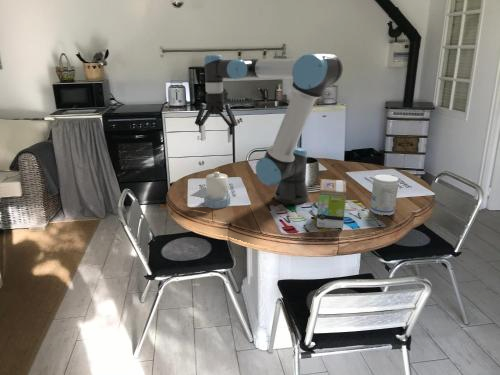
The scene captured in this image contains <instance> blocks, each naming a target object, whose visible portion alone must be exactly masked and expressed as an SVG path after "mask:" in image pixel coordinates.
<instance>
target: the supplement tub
mask: <svg viewBox="0 0 500 375" xmlns="http://www.w3.org/2000/svg"><path fill="white" fill-rule="evenodd" d="M398 189H399V177H396V176H394V175H391V174H377V175H374V177H373V182H372V189H371V190H372V192H371V198H370V208H369V209H370V211H371V212H372V213H373V214H376V215H377V214H378V216H383V215H388V216H391V215H393V214H394V213H395V210H396V204H397V203H396V202H397V197H398V196H397V195H398Z"/></svg>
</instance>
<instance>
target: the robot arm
mask: <svg viewBox="0 0 500 375" xmlns="http://www.w3.org/2000/svg"><path fill="white" fill-rule="evenodd" d="M343 68H344V67H343V63H342V61H341V59H340V58H339V56H337V55H335V54H333V53H326V52H325V53H317V52H311V53H307V54H303V55H302V56H300V57H299V58H265V59H264V58H263V59H262V58H251V59H250V58H249V59H248V58H247V59H246V58H245V59H240V58H239V59H223V56H222V55H220V54H212V55H211V54H209V55H207V54H206V55H205V57H204V76H205V77H204V79H205V80H204V81H205V84H204V85H205V92H206V94H205V101H206V103H204V102H202V103H200V105H199V110H198V113H197V116H196V119H195V120H194V124H195V125H197V126H198V132H199V134H200V141H201V142H203V141H206V136H207V135H206V125H205V123H206V122H207V120H208V119H209V117H210V116H211V115H217V116H218V115H219V116H220V117H221V118H222V119H223V121H224V122H225V124H226V125H227V126H228V127H227V130H226V131H227V143H228V144H229V143H232V142H233V135H234V133H235V131H234V128H235V127H237V126H238V122H237V119H236V118H235V115H234V114H233V111H232V109H231V103H227V104H224V100H225V99H224V93H223V92H224V83H223V82H224V81H223V80H224V79H232V80H238V79H239V80H240V79H244V78H263V79H264V78H267V79H268V78H270V79H292V81H293V82H292V84H291V86H292V89H293V93H292V95H291V98H290V100H289V102H288V106H287V109H286V111H285V113H284V116H283V118H282V121H281V124H280V126H279V128H278V131H277V134H276V137H275V139H274V141H273V144H272V145H270V146H268V147H267V149H266V151H265V153H264V156H263V157H261V158H260V159H259V160H258V161H257V162H256V164H255V173H256V174H257V178H258V179H259V181H260V182H261V183H262V184H264V185H265V186H276V187H275V191H274V200H276V202H279V203H282V204H289V205H297V204H303V203H307V202H308V201H309V200H310V193H309V190H308V187H307V182H306V181H307V180H306V177H307V176H306V175H307V174H306V173H307V161H308V156H307V150H306V149H305V148H303V147H297V144H298V142H299V140H300V138H301V136H302V133H303V131H304V129H305V126H306V123H307V121H308V119H309V117H310V115H311V111H312V110H313V107H314V105H315V103H316V100H318V99H320V98H322V97H323V94H324V92H325V91H326V90H325V89H326V88H327V87H328V86H332V85H334V84H336V83H337V82H338V81H339V80H340V79H341V77H342V74H343V71H344V69H343ZM206 110H207V111H206ZM226 113H227V114H226Z"/></svg>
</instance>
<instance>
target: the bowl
mask: <svg viewBox="0 0 500 375" xmlns="http://www.w3.org/2000/svg"><path fill="white" fill-rule="evenodd" d="M203 203H204V206H205V207H206V208H210V209H223V208H227V207H229V206H230V205H231V194H228V198H226V199H224V200H210V199H208V198H207V195H205V196H204V198H203Z"/></svg>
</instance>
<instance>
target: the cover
mask: <svg viewBox="0 0 500 375" xmlns="http://www.w3.org/2000/svg"><path fill="white" fill-rule="evenodd" d="M228 178H229V177H228V174H226V173H221V172H219V171H214V172H213V173H210V174H207V175H206V176H205V186H206V187H205V188H206V195H207V198H208V199H210V200H224V199H226V198H228V195H229V185H228V184H229V182H228Z"/></svg>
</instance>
